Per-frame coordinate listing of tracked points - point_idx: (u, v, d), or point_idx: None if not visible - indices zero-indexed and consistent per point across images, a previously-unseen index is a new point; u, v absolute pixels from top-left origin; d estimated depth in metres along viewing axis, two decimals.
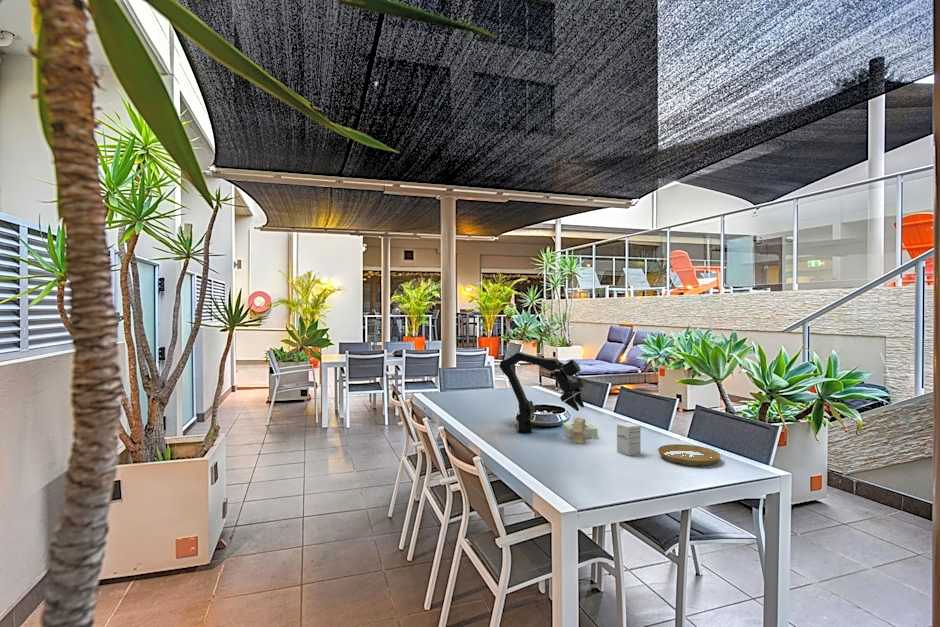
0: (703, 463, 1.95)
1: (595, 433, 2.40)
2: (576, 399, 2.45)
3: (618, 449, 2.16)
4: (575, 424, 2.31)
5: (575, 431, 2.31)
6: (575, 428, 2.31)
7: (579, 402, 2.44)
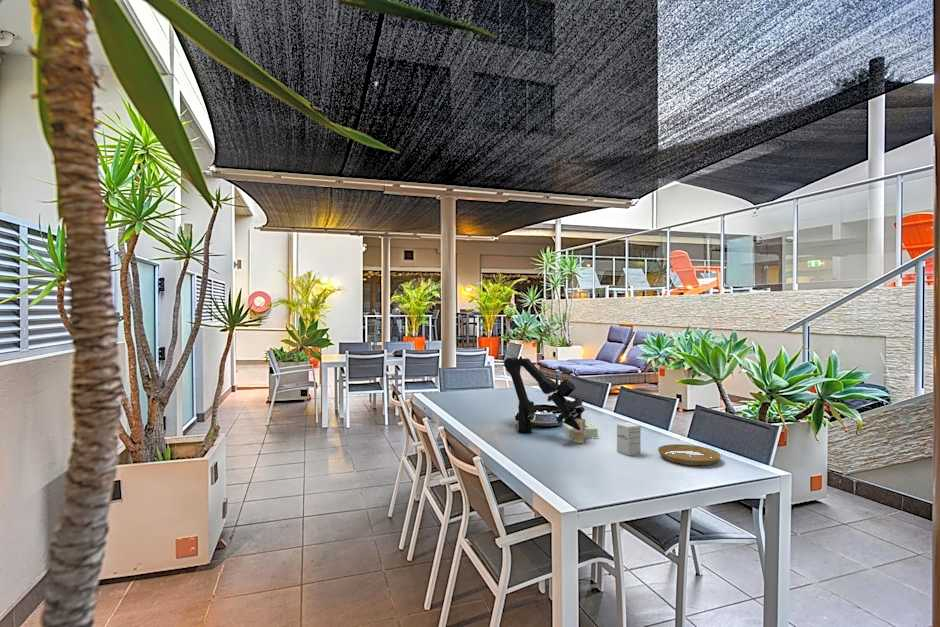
0: (703, 463, 1.95)
1: (595, 433, 2.40)
2: None
3: (618, 449, 2.16)
4: None
5: (575, 431, 2.31)
6: None
7: None
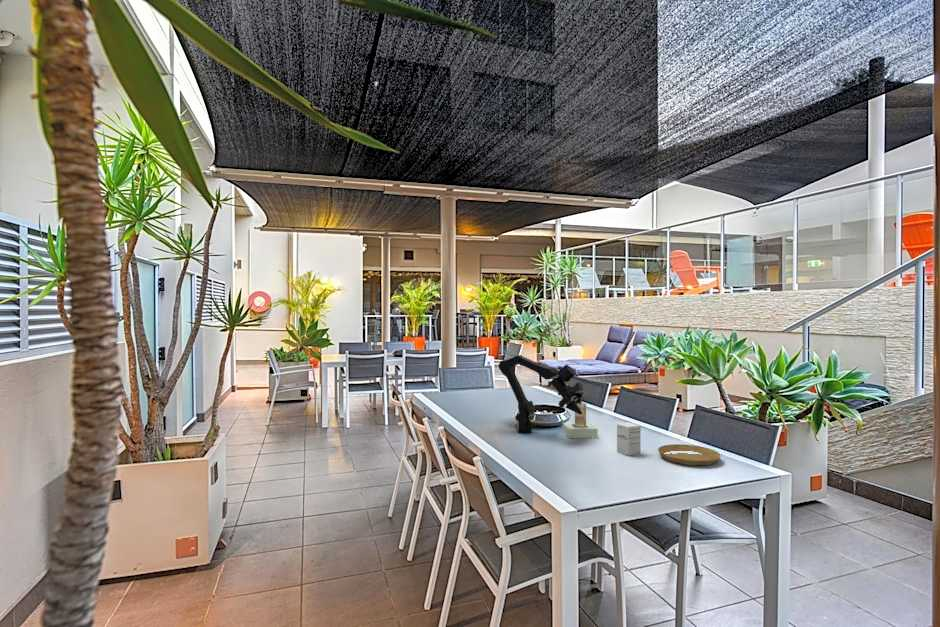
0: (703, 463, 1.95)
1: (595, 433, 2.40)
2: None
3: (618, 449, 2.16)
4: None
5: (576, 415, 2.34)
6: None
7: None
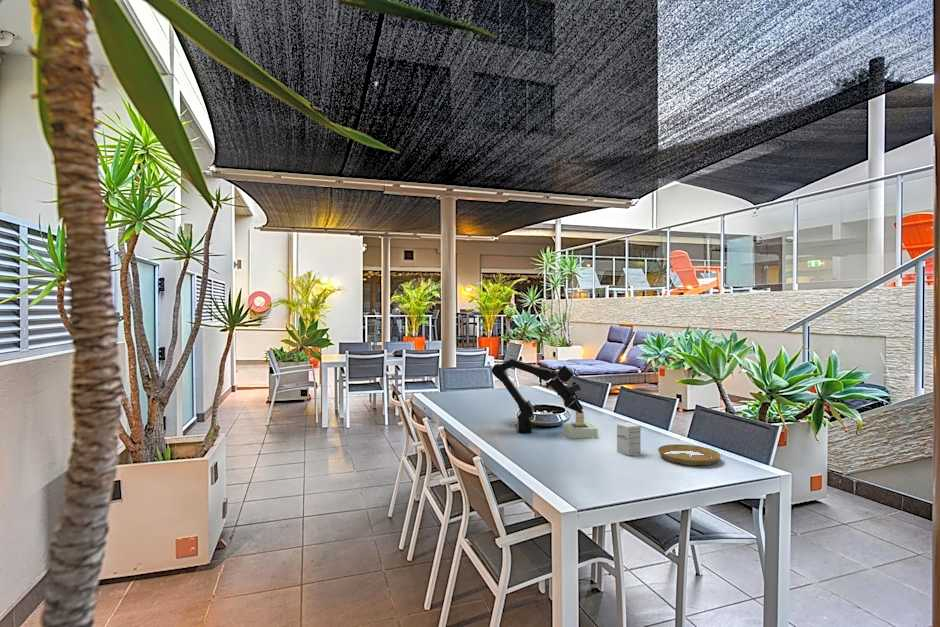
0: (703, 463, 1.95)
1: (595, 433, 2.40)
2: None
3: (618, 449, 2.16)
4: (578, 418, 2.45)
5: (577, 424, 2.45)
6: (578, 421, 2.45)
7: (577, 405, 2.51)
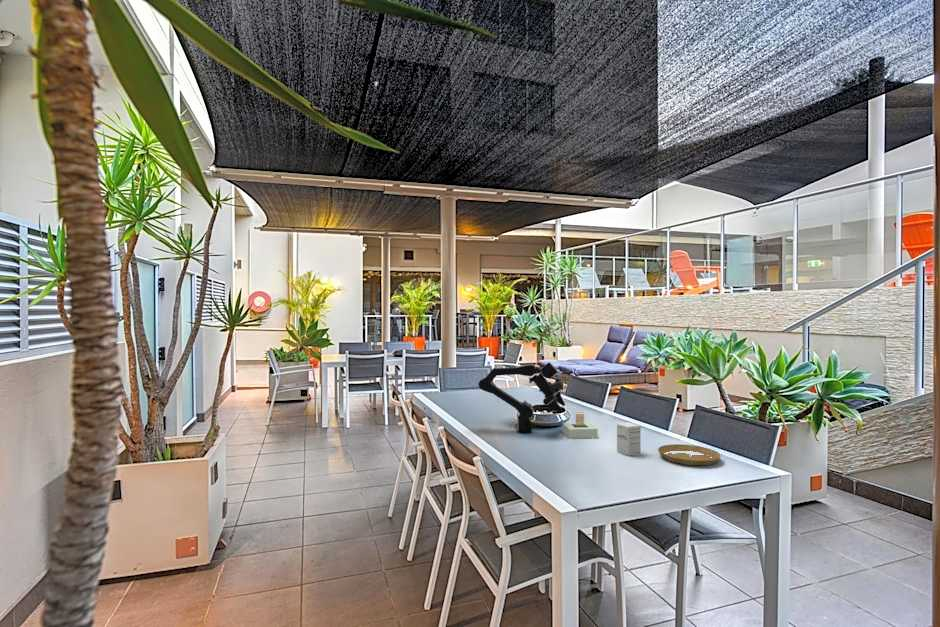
0: (703, 463, 1.95)
1: (595, 433, 2.40)
2: (557, 399, 2.54)
3: (618, 449, 2.16)
4: (577, 418, 2.45)
5: (577, 424, 2.45)
6: (577, 421, 2.45)
7: (560, 401, 2.53)
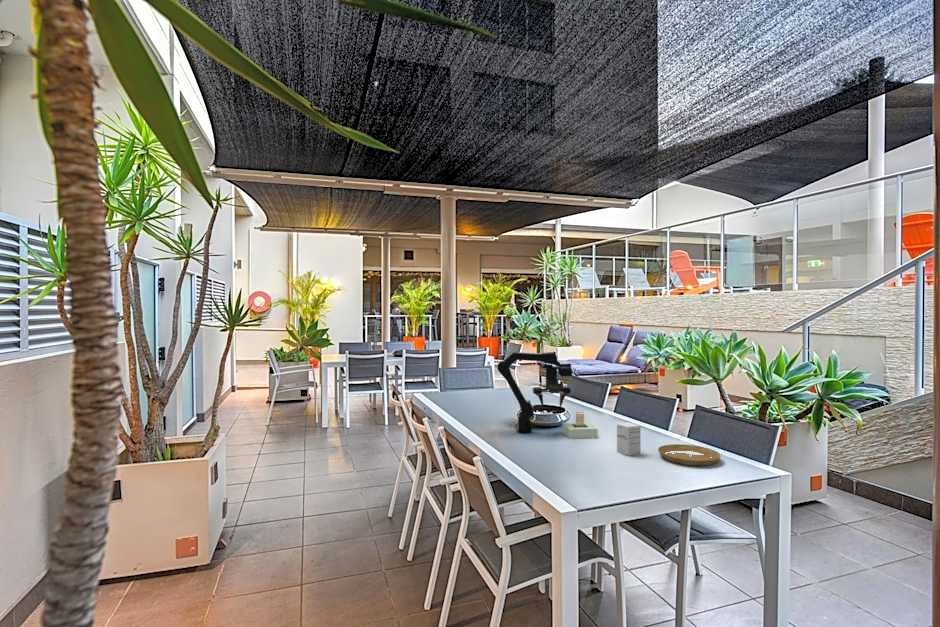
0: (703, 463, 1.95)
1: (595, 433, 2.40)
2: (560, 397, 2.53)
3: (618, 449, 2.16)
4: (577, 418, 2.45)
5: (577, 424, 2.45)
6: (577, 421, 2.45)
7: (560, 401, 2.52)
